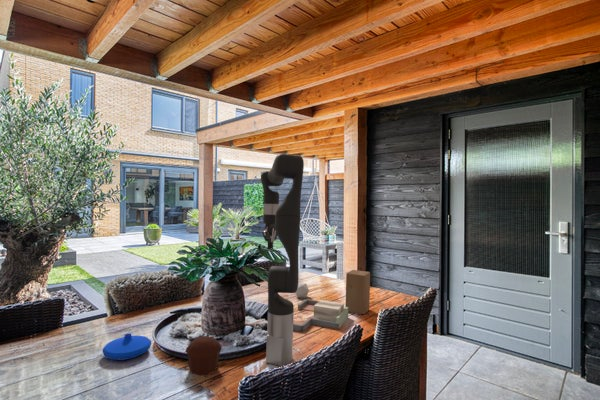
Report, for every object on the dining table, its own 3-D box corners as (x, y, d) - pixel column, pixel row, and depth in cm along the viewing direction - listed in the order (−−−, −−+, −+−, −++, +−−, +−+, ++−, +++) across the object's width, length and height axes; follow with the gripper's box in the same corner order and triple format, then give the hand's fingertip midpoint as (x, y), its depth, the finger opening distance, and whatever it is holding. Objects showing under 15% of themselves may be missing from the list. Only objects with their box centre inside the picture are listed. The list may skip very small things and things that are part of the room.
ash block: (337, 325, 152) (338, 309, 152) (313, 321, 157) (313, 305, 157) (343, 318, 162) (344, 303, 162) (320, 314, 166) (320, 299, 166)
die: (303, 301, 188) (312, 286, 191) (291, 293, 190) (300, 278, 193) (303, 302, 196) (311, 288, 199) (291, 294, 197) (299, 280, 200)
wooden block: (344, 311, 171) (346, 273, 171) (351, 306, 180) (352, 269, 180) (363, 315, 166) (365, 275, 166) (369, 309, 175) (370, 271, 175)
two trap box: (331, 337, 139) (331, 325, 139) (275, 326, 149) (275, 315, 149) (353, 311, 172) (353, 301, 172) (306, 303, 183) (306, 294, 183)
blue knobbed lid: (139, 340, 132) (139, 323, 131) (159, 353, 122) (159, 334, 121) (95, 354, 119) (95, 335, 119) (113, 370, 109) (113, 348, 109)
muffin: (225, 361, 117) (226, 332, 117) (216, 378, 106) (216, 346, 106) (192, 359, 118) (192, 331, 118) (179, 376, 107) (180, 345, 106)
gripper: (271, 214, 150) (270, 252, 150) (284, 213, 162) (283, 248, 162) (257, 213, 153) (256, 251, 153) (270, 212, 165) (270, 247, 165)
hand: (270, 249), depth 157 cm, fingers closed
